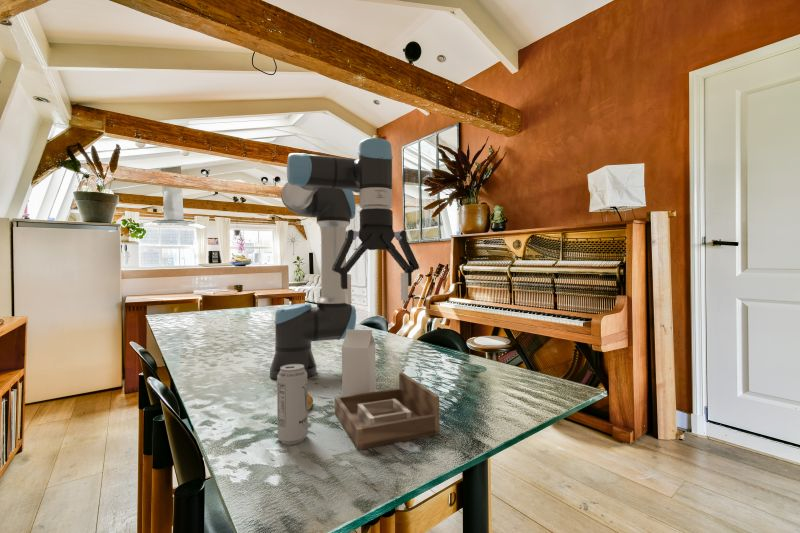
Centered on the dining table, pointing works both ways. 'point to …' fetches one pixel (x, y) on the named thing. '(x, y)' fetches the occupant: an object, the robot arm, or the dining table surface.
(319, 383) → the dining table surface
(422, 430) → the walled box
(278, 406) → the energy drink can
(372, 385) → the milk carton
